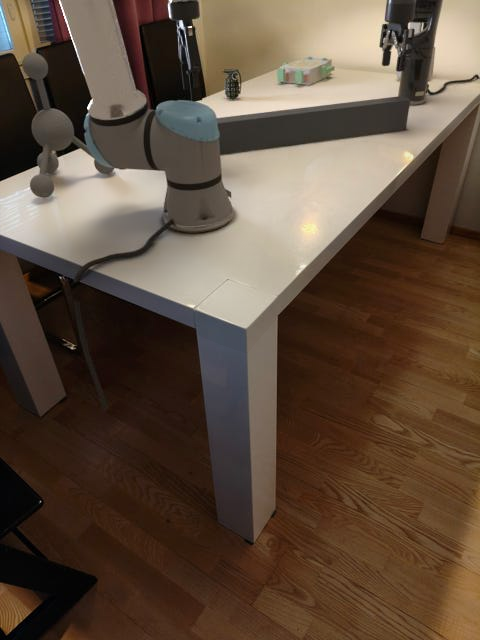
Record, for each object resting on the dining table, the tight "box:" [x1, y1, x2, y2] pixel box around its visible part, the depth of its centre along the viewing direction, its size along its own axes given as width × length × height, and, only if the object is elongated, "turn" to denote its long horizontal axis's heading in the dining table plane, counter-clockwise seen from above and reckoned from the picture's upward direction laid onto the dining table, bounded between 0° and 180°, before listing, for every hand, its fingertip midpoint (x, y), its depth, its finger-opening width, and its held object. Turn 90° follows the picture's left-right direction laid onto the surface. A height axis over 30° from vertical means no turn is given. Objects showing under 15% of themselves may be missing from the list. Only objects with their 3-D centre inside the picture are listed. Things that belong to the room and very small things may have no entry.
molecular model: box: [21, 52, 116, 199], centre depth 119 cm, size 24×22×30 cm
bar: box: [217, 95, 411, 156], centre depth 142 cm, size 70×5×9 cm, turn 104°
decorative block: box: [276, 56, 336, 86], centre depth 205 cm, size 26×6×20 cm
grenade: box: [221, 68, 242, 100], centre depth 184 cm, size 7×6×10 cm
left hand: (192, 94), depth 130 cm, fingers open, 13 cm apart
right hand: (392, 68), depth 138 cm, fingers open, 8 cm apart
